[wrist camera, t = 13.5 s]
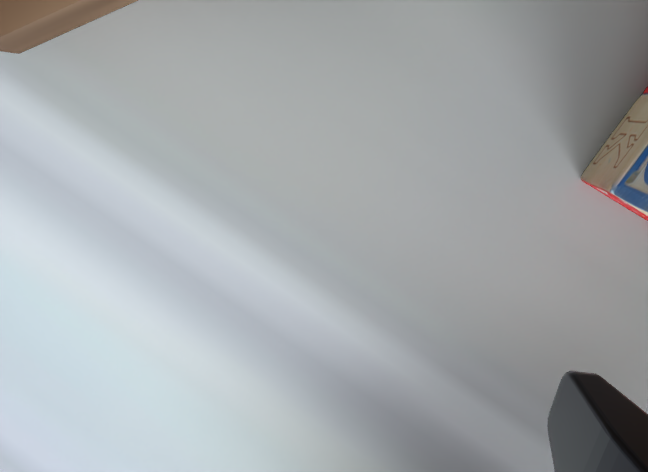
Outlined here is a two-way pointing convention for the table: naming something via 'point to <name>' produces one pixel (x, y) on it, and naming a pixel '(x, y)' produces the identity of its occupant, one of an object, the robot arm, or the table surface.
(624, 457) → the robot arm
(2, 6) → the base board
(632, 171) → the stack of blocks
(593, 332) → the table surface
